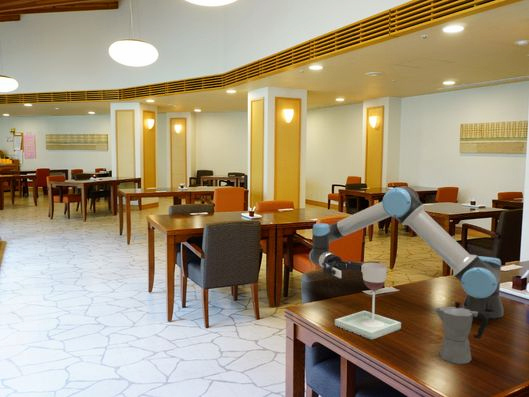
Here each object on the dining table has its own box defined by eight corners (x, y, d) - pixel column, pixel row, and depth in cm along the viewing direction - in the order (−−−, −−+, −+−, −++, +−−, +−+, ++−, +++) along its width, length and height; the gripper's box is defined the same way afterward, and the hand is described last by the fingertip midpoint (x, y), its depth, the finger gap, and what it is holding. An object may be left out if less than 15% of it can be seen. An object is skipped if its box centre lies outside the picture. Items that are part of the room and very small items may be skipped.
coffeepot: (431, 360, 142) (433, 303, 141) (434, 348, 151) (436, 295, 150) (486, 369, 136) (489, 310, 135) (486, 357, 145) (488, 301, 143)
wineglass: (380, 318, 177) (381, 262, 175) (388, 327, 168) (390, 268, 166) (357, 319, 176) (359, 262, 175) (365, 328, 167) (366, 268, 165)
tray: (400, 328, 169) (401, 322, 169) (371, 339, 158) (371, 332, 158) (364, 316, 182) (364, 310, 182) (334, 325, 171) (334, 319, 171)
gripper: (355, 268, 205) (382, 280, 185) (304, 273, 197) (327, 285, 177) (355, 252, 204) (383, 261, 184) (304, 255, 196) (327, 266, 176)
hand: (355, 273), depth 180 cm, fingers open, 13 cm apart
